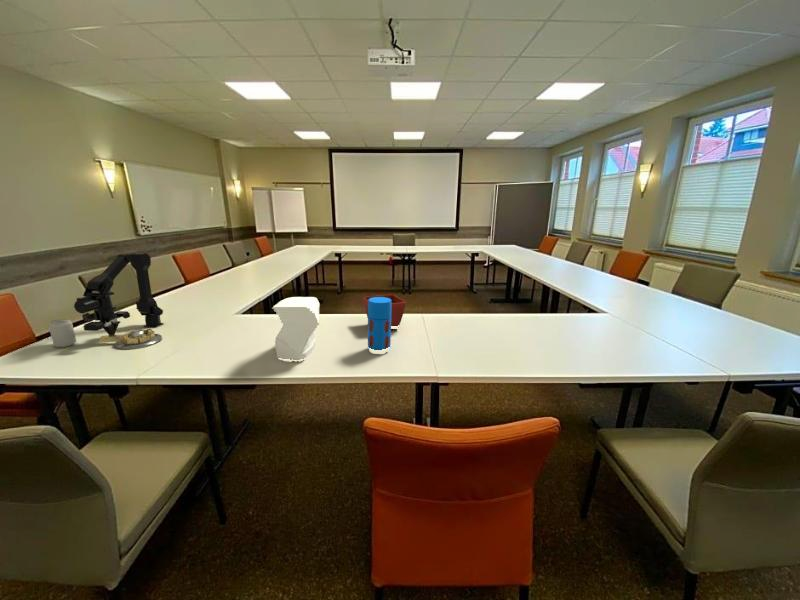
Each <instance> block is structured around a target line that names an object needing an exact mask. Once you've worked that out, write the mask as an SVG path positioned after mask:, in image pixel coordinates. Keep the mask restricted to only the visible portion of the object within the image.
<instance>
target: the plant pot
mask: <svg viewBox="0 0 800 600" xmlns="http://www.w3.org/2000/svg"><path fill="white" fill-rule="evenodd" d="M373 297H385V298H389V299H391V303H392V306H391V326H398V325H399V326H400V324H401V322H402V319H403V315H404V312H405V307H406V301H405V300H403V299H401V298H400V297H398V296H397V295H395V294H381V295H380V294H379V295H367V296H363V297H362V298H363V305H364V310H365V313H366V317H367V319H368V300H369V299H370V298H373Z"/></svg>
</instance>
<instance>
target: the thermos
mask: <svg viewBox="0 0 800 600" xmlns="http://www.w3.org/2000/svg"><path fill="white" fill-rule="evenodd" d="M391 306H392V303H391V299H389V298H385V297H373V298H370V299H369V300H368V318H367V348H368V347H369V348H371V349H374V350H382V349H386V348H388V347H390V348H391V344H392V343H391V341H392V339H391V338H392V336H391V335H392V334H391V333H392V330H391Z"/></svg>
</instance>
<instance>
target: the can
mask: <svg viewBox="0 0 800 600" xmlns="http://www.w3.org/2000/svg"><path fill="white" fill-rule="evenodd" d="M48 328H49V332H50V333H49V334H50V336H51V339H52V341H51V342H52V344H53V346H54V347H56V348H67V347H70V346H73V345H75V344H76V342H77V337H76V333H75V329H74V326H73V322H72V321H71V320H70V319H69V318H58V319H54V320H51V321H50V322H49V325H48Z"/></svg>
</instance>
